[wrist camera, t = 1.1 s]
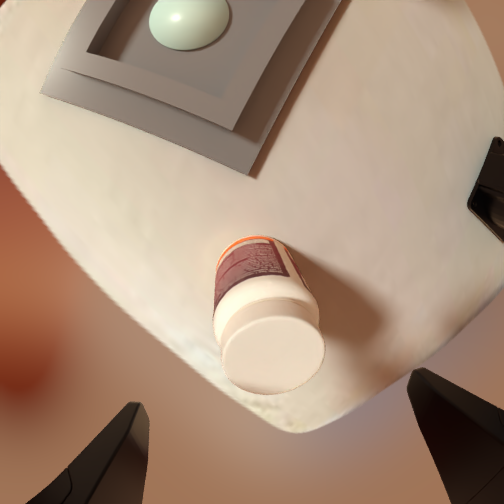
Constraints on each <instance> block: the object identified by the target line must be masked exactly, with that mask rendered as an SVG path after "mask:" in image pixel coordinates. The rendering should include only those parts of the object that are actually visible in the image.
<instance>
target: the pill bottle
mask: <svg viewBox="0 0 504 504" xmlns="http://www.w3.org/2000/svg"><path fill="white" fill-rule="evenodd" d="M213 329H214V334H215V338H216V340H217V343H218V345H219V346H220V348H221V362H222V367H223V370H224V372H225V374H226V376H227V377H228V379H229V380H230V381H231V382H232V383H233V384H235V385H236V386H237V387H239V388H241V389H243V390H245V391H248V392H251V393H255V394H263V395H271V394H279V393H284V392H287V391H290V390H293V389H295V388H297V387H299V386H301V385H303V384H304V383H306V382H307V381H308V380H310V379H311V378H312V377H313V376H314V375H315V374H316V373H317V371H318V370H319V368H320V367H321V365H322V362H323V360H324V356H325V342H324V339H323V336H322V334H321V331H320V329H319V308H318V304H317V302H316V299H315V297H314V296H313V294H312V292H311V291H310V289H309V287H308V285H307V283H306V281H305V280H304V278H303V276H302V274H301V272H300V271H299V269H298V267H297V265H296V263H295V261H294V260H293V258H292V256H291V254H290V253H289V251H288V250H287V249H286V247H285V246H284V245H282V244H281V243H280V242H278V241H277V240H275V239H273V238H271V237H268V236H263V235H250V236H246V237H242V238H240V239H237V240H236V241H234V242H233V243H231V244H230V245H229V246H228V247H227V248H226V249H225V250H224V251H223V252H222V254H221V256H220V258H219V260H218V263H217V266H216V276H215V296H214V314H213Z"/></svg>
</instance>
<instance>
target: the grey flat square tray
mask: <svg viewBox="0 0 504 504" xmlns="http://www.w3.org/2000/svg"><path fill="white" fill-rule="evenodd" d="M340 2H341V0H86V2H85V4H84V5H83V7H82V8H81V10H80V12H79V13H78V15H77V17H76V19H75V20H74V22H73V24H72V26H71V27H70V29H69V31H68V33H67V35H66V37H65V39H64V41H63V42H62V44H61V46H60V48H59V50H58V52H57V55H56V57H55V59H54V61H53V63H52V65H51V67H50V70H49V72H48V74H47V77H46V79H45V81H44V84H43V86H42V89H41V91H40V94H43V95H47V96H50V97H53V98H56V99H59V100H62V101H65V102H68V103H71V104H74V105H77V106H79V107H82V108H85V109H88V110H91V111H93V112H96V113H99V114H102V115H104V116H107V117H110V118H113V119H115V120H118V121H120V122H123V123H126V124H128V125H131V126H133V127H136V128H139V129H141V130H144V131H146V132H149V133H151V134H154V135H156V136H158V137H161V138H163V139H166V140H168V141H171V142H173V143H175V144H178V145H180V146H182V147H185V148H187V149H189V150H192V151H194V152H196V153H199V154H201V155H203V156H206V157H208V158H210V159H212V160H215V161H217V162H219V163H221V164H223V165H226V166H228V167H230V168H232V169H234V170H236V171H239V172H241V173H243V174H245V175H248V173H249V171H250V169H251V167H252V165H253V163H254V161H255V159H256V157H257V155H258V153H259V151H260V149H261V147H262V145H263V143H264V141H265V139H266V138H267V136H268V134H269V132H270V130H271V128H272V126H273V124H274V122H275V120H276V118H277V116H278V114H279V112H280V111H281V109H282V107H283V105H284V103H285V101H286V99H287V97H288V95H289V93H290V92H291V90H292V88H293V86H294V84H295V82H296V80H297V79H298V77H299V75H300V73H301V71H302V69H303V68H304V66H305V64H306V62H307V60H308V58H309V57H310V55H311V53H312V51H313V49H314V48H315V46H316V44H317V42H318V40H319V39H320V37H321V35H322V33H323V32H324V30H325V28H326V26H327V24H328V23H329V21H330V19H331V17H332V16H333V14H334V12H335V11H336V9H337V7H338V5H339V4H340Z"/></svg>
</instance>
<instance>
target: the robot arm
mask: <svg viewBox="0 0 504 504" xmlns="http://www.w3.org/2000/svg"><path fill="white" fill-rule="evenodd" d="M473 202H474V204H473ZM467 206H468V208H469V209H470V210H471V211H472V212H473V213H474V214H475V215H476V216H477V217H478V218H479V219H480V220H481V221H482V222H483V223H484V224H485V225H486V226H487V227H488V228H489V229H490V230H491V231H492V232H493V233H494V234H495V235H496V236H497V237H498V238H499V239H500V240H502V241H504V141H503V140H502V139H501V138H500V137H494V138H493V140H492V143H491V146H490V149H489V151H488V154H487V156H486V159H485V162H484V164H483V167H482V169H481V172H480V174H479V176H478V179H477V181H476V183H475V186H474V188H473V190H472V192H471V195H470V197H469V199H468V202H467ZM407 393H408V396H409V399H410V402H411V404H412V408H413V411H414V414H415V417H416V420H417V423H418V426H419V428H420V430H421V432H422V435H423V437H424V439H425V441H426V444H427V446H428V448H429V451H430V453H431V455H432V457H433V460H434V462H435V464H436V467H437V469H438V471H439V474H440V477H441V479H442V481H443V484H444V486H445V489H446V491H447V494H448V497H449V499H450V502H451V504H504V410H502V409H500V408H497V407H496V406H494V405H493V404H491V403H489V402H487V401H485V400H483V399H481V398H479V397H478V396H476V395H474V394H472V393H470V392H468V391H466V390H465V389H463V388H461V387H459V386H457V385H455V384H453V383H451V382H450V381H448V380H446V379H444V378H442V377H441V376H439V375H437V374H435V373H433V372H431V371H429V370H428V369H426V368H423V367H422V368H418V369H415V370H413V371H412V373H411V376H410V379H409V382H408V385H407ZM148 445H149V418H148V415H147V413H146V411H145V409H144V406H143V404H142V403H141V402H129V403H127V405H126V406H125V407H124V408H123V409H122V410H121V411H120V412H119V413H118V414H117V415H116V416H115V417H114V418H113V419H112V420H111V422H110V423H109V424H108V425H107V426H106V427H105V428H104V429H103V430H102V431H101V432H100V433H99V434H98V435H97V436H96V437H95V438H94V439H93V440H92V441H91V443H90V444H89V445H88V446H87V447H86V448H85V449H84V450H83V451H82V452H81V453H80V454H79V455H78V456H77V457H76V458H75V459H74V460H73V461H72V463H70V464H69V465H68V468H65V469H64V471H63V472H62V473H61V474H60V475H59V476H58V477H57V478H56V479H55V480H54V481H52V482H51V483H50V484H49V485H48V486H47V487H46V488H45V489H43V490H42V491H41V492H40V493H38V494H37V495H36V496H35V497H33V498H32V499H31V500H30V501H28V502H27V503H26V504H142V499H143V492H144V485H145V478H146V472H147V464H148Z"/></svg>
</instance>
